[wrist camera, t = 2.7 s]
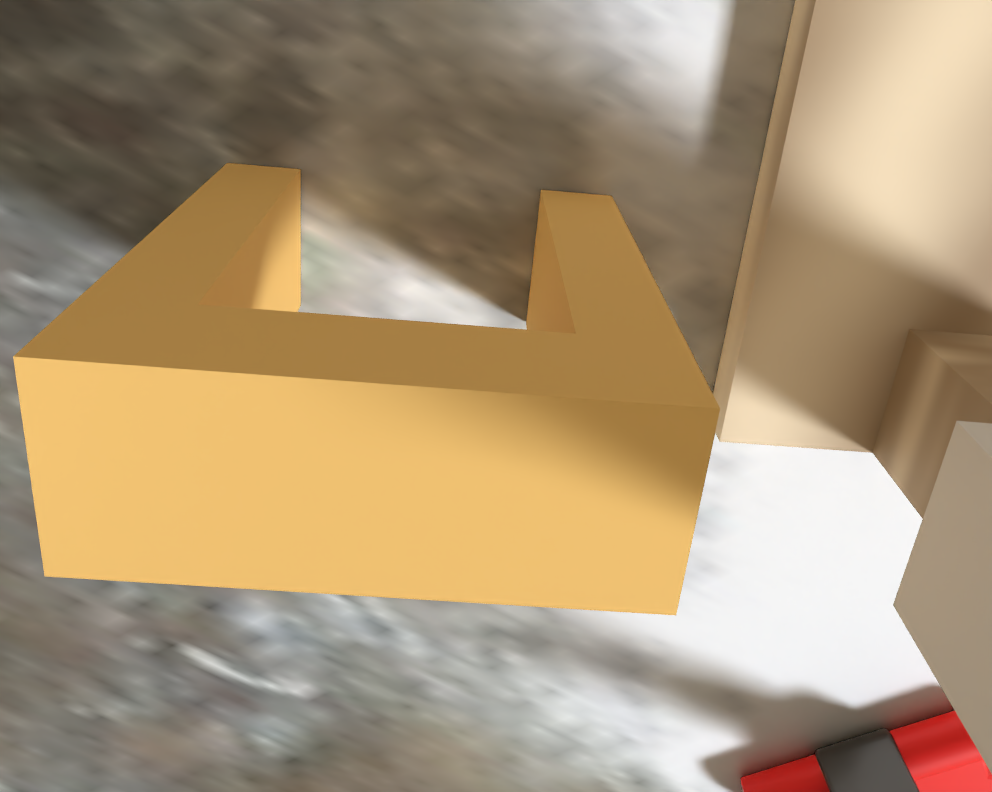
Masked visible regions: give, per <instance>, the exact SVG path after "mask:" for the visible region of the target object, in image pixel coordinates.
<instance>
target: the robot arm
mask: <svg viewBox="0 0 992 792" xmlns="http://www.w3.org/2000/svg"><path fill="white" fill-rule="evenodd" d="M893 606H894V607H895V609H896V611H897V612H898V614H899V616H900V618H901V619H902V621H903V623H904V624H905V626H906V628H907V629H908V631H909V633H910V635H911V636H912V638H913V640H914V641H915V643H916V645H917V647H918V648H919V650H920V652H921V653H922V655H923V657H924V659H925V660H926V662H927V664H928V665H929V667H930V669H931V671H932V672H933V674H934V676H935V677H936V679H937V681H938V683H939V684H940V686H941V688H942V689H943V691H944V693H945V695H946V696H947V698H948V700H949V701H950V703H951V705H952V707H953V708H954V710H955V712H956V713H957V715H958V717H959V719H960V720H961V722H962V724H963V725H964V727H965V729H966V731H967V732H968V734H969V736H970V737H971V739H972V741H973V743H974V744H975V746H976V748H977V749H978V751H979V753H980V755H981V756H982V758H983V760H984V761H985V763H986V765H987V767H988V768H989V770H990V772H991V773H992V424H991V423H979V422H967V421H956V424H955V427H954V430H953V433H952V436H951V439H950V442H949V444H948V447H947V450H946V453H945V456H944V459H943V462H942V465H941V468H940V471H939V473H938V476H937V479H936V482H935V485H934V488H933V491H932V494H931V497H930V500H929V503H928V505H927V508H926V511H925V514H924V517H923V520H922V523H921V526H920V529H919V532H918V534H917V537H916V540H915V543H914V546H913V549H912V552H911V555H910V558H909V561H908V563H907V566H906V569H905V572H904V575H903V578H902V581H901V584H900V587H899V590H898V593H897V595H896V598H895V601H894V604H893Z"/></svg>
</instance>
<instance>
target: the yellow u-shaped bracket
mask: <svg viewBox="0 0 992 792" xmlns="http://www.w3.org/2000/svg"><path fill="white" fill-rule="evenodd" d="M300 306H301V169H293V168H281V167H269V166H257V165H246V164H234V163H227V164H226V165H224V166H223V167H222V168H221V169H220V170H219V171H218V172H217V173H216V174H215V175H213V176H212V177H211V178H210V179H209V180H208V181H207V182H206V183H205V184H203V185H202V186H201V187H200V188H199V189H198V190H197V191H196V192H195V193H194V194H192V195H191V196H190V197H189V198H188V199H187V200H186V201H185V202H184V203H182V204H181V205H180V206H179V207H178V208H177V209H176V210H175V211H174V212H173V213H171V214H170V215H169V216H168V217H167V218H166V219H165V220H164V221H163V222H161V223H160V224H159V225H158V226H157V227H156V228H155V229H154V230H153V231H152V232H150V233H149V234H148V235H147V236H146V237H145V238H144V239H143V240H142V241H140V242H139V243H138V244H137V245H136V246H135V247H134V248H133V249H132V250H131V251H129V252H128V253H127V254H126V255H125V256H124V257H123V258H122V259H121V260H119V261H118V262H117V263H116V264H115V265H114V266H113V267H112V268H111V269H110V270H108V271H107V272H106V273H105V274H104V275H103V276H102V277H101V278H100V279H98V280H97V281H96V282H95V283H94V284H93V285H92V286H91V287H90V288H89V289H87V290H86V291H85V292H84V293H83V294H82V295H81V296H80V297H79V298H77V299H76V300H75V301H74V302H73V303H72V304H71V305H70V306H69V307H68V308H66V309H65V310H64V311H63V312H62V313H61V314H60V315H59V316H58V317H56V318H55V319H54V320H53V321H52V322H51V323H50V324H49V325H48V326H47V327H45V328H44V329H43V330H42V331H41V332H40V333H39V334H38V335H37V336H35V337H34V338H33V339H32V340H31V341H30V342H29V343H28V344H27V345H26V346H24V347H23V348H22V349H21V350H20V351H19V352H18V353H17V354H16V355H14V356H13V358H14V365H15V372H16V379H17V386H18V393H19V400H20V407H21V414H22V421H23V428H24V435H25V442H26V449H27V456H28V463H29V470H30V477H31V484H32V491H33V498H34V505H35V512H36V519H37V526H38V533H39V540H40V547H41V554H42V561H43V568H44V575H45V576H48V577H64V578H81V579H97V580H113V581H129V582H145V583H162V584H178V585H194V586H210V587H227V588H243V589H259V590H275V591H291V592H308V593H324V594H340V595H356V596H372V597H389V598H405V599H421V600H437V601H453V602H470V603H486V604H502V605H518V606H534V607H551V608H567V609H583V610H599V611H616V612H632V613H648V614H664V615H676V613H677V608H678V603H679V599H680V594H681V589H682V585H683V580H684V575H685V571H686V566H687V561H688V557H689V552H690V547H691V543H692V538H693V533H694V529H695V524H696V519H697V515H698V510H699V505H700V501H701V496H702V492H703V487H704V482H705V478H706V473H707V468H708V464H709V459H710V454H711V450H712V445H713V440H714V436H715V431H716V426H717V422H718V417H719V412H720V407H719V405H718V403H717V401H716V399H715V397H714V395H713V393H712V391H711V389H710V387H709V386H708V384H707V382H706V380H705V378H704V376H703V374H702V372H701V370H700V368H699V366H698V364H697V362H696V360H695V358H694V356H693V354H692V352H691V350H690V348H689V346H688V344H687V342H686V340H685V338H684V336H683V335H682V333H681V331H680V329H679V327H678V325H677V323H676V321H675V319H674V317H673V315H672V313H671V311H670V309H669V307H668V305H667V303H666V301H665V299H664V297H663V295H662V293H661V291H660V289H659V287H658V285H657V284H656V282H655V280H654V278H653V276H652V274H651V272H650V270H649V268H648V266H647V264H646V262H645V260H644V258H643V256H642V254H641V252H640V250H639V248H638V246H637V244H636V242H635V240H634V238H633V236H632V234H631V233H630V231H629V229H628V227H627V225H626V223H625V221H624V219H623V217H622V215H621V213H620V211H619V209H618V207H617V205H616V203H615V201H614V199H613V197H612V196H609V195H598V194H586V193H574V192H562V191H551V190H541V193H540V202H539V211H538V220H537V230H536V239H535V248H534V257H533V266H532V275H531V284H530V293H529V302H528V311H527V320H526V325H527V330H523V329H510V328H497V327H484V326H471V325H458V324H445V323H433V322H420V321H407V320H394V319H381V318H368V317H355V316H342V315H329V314H316V313H303V312H298V310H299V308H300Z"/></svg>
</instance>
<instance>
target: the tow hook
mask: <svg viewBox="0 0 992 792" xmlns="http://www.w3.org/2000/svg"><path fill="white" fill-rule="evenodd" d="M815 755H816V756H815ZM741 785H742V792H992V773H991V772H990V770H989V768H988V767H987V765H986V763H985V761H984V760H983V758H982V756H981V755H980V753H979V751H978V749H977V748H976V746H975V744H974V743H973V741H972V739H971V737H970V736H969V734H968V732H967V731H966V729H965V727H964V725H963V724H962V722H961V720H960V719H959V717H958V715H957V713H956V712H955V710H954V711H951V712H948V713H945V714H942V715H938V716H935V717H932V718H929V719H926V720H923V721H919V722H916V723H913V724H910V725H907V726H903V727H900V728H897V729H894V730H891V731H888V730H887V729H880V730H877V731H874V732H871V733H867V734H864V735H861V736H858V737H855V738H851V739H848V740H845V741H842V742H839V743H836V744H832V745H829V746H826V747H823V748H820V749H817V750H816V751H815V754H814V755H811V756H808V757H805V758H802V759H798V760H795V761H792V762H789V763H786V764H782V765H779V766H776V767H773V768H770V769H766V770H763V771H760V772H757V773H754V774H751V775H747V776H744V777H741Z"/></svg>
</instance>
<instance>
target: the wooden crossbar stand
mask: <svg viewBox="0 0 992 792" xmlns="http://www.w3.org/2000/svg"><path fill="white" fill-rule="evenodd" d="M713 395H714V397H715V399H716V401H717V403H718V405H719V407H720V412H719V417H718V422H717V426H716V431H715V433H716V435H717V437H718V439H719V441H720V442H732V443H746V444H760V445H774V446H788V447H802V448H816V449H830V450H844V451H858V452H872V453H873V454H874V455H875V457H876V458H877V459H878V460H879V462H880V463H881V464H882V466H883V467H884V468H885V470H886V471H887V472H888V474H889V475H890V476H891V478H892V479H893V480H894V482H895V483H896V484H897V485H898V487H899V488H900V489H901V491H902V492H903V493H904V495H905V496H906V497H907V499H908V500H909V501H910V503H911V504H912V505H913V507H914V508H915V509H916V510H917V512H918V513H919V514H920V516H921V517H922V518H923V517H924V514H925V511H926V508H927V505H928V503H929V500H930V497H931V494H932V491H933V488H934V485H935V482H936V479H937V476H938V473H939V471H940V468H941V465H942V462H943V459H944V456H945V453H946V450H947V447H948V444H949V442H950V439H951V436H952V433H953V430H954V427H955V424H956V421H967V422H979V423H991V424H992V0H795V4H794V9H793V13H792V18H791V23H790V28H789V32H788V37H787V42H786V47H785V52H784V56H783V61H782V66H781V71H780V75H779V80H778V85H777V90H776V95H775V99H774V104H773V109H772V114H771V119H770V123H769V128H768V133H767V138H766V142H765V147H764V152H763V157H762V162H761V166H760V171H759V176H758V181H757V185H756V190H755V195H754V200H753V205H752V209H751V214H750V219H749V224H748V229H747V233H746V238H745V243H744V248H743V252H742V257H741V262H740V267H739V272H738V276H737V281H736V286H735V291H734V295H733V300H732V305H731V310H730V315H729V319H728V324H727V329H726V334H725V338H724V343H723V348H722V353H721V358H720V362H719V367H718V372H717V377H716V382H715V386H714V391H713Z"/></svg>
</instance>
